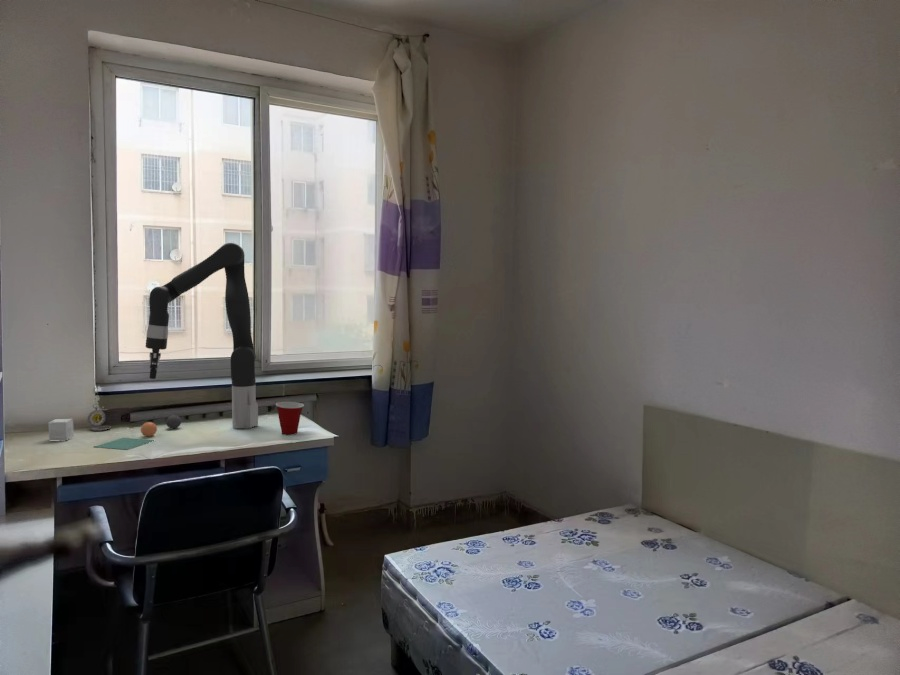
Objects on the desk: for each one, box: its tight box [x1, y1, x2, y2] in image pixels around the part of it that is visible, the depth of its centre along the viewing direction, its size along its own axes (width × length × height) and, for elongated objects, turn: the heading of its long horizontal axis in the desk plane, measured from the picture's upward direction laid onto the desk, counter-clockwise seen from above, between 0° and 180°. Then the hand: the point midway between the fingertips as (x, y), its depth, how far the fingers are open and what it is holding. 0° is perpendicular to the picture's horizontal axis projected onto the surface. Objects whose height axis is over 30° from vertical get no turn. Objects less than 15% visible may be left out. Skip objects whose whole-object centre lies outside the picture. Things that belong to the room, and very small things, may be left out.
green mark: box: [93, 437, 155, 451], centre depth 218 cm, size 14×14×1 cm
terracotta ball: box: [140, 421, 158, 437], centre depth 229 cm, size 6×6×6 cm
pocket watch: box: [87, 403, 112, 432], centre depth 240 cm, size 8×8×10 cm
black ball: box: [165, 414, 182, 429], centre depth 243 cm, size 6×6×6 cm
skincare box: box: [47, 418, 75, 442], centre depth 223 cm, size 6×6×7 cm
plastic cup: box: [275, 401, 305, 435], centre depth 236 cm, size 11×11×12 cm
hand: (152, 376), depth 239 cm, fingers open, 8 cm apart
